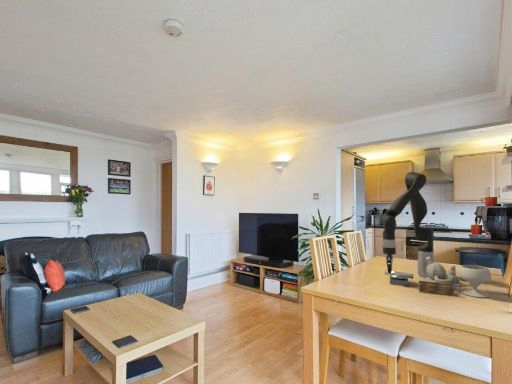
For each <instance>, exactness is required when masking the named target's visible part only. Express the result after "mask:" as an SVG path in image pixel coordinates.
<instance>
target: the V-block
mask: <svg viewBox="0 0 512 384" xmlns="http://www.w3.org/2000/svg"><path fill="white" fill-rule="evenodd" d="M389 285H393V286H394V285H396V286H401V285H402V286H403V287H409V278H408V277H405V276H396V275H389Z"/></svg>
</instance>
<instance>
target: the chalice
mask: <svg viewBox="0 0 512 384" xmlns="http://www.w3.org/2000/svg"><path fill="white" fill-rule="evenodd" d="M458 276H459V277H460V278H461V279H462V280H463V281H464V280H465V281H464V282H466V281H467V283H469V284H470V285H471V286H472V289H464V290H461V293H462V294H464V295H467V296H470V297H473V298H474V297H475V298H490V296H491V295H490V294H489V293H487V292H484V291H480V290H478V287H479V286H480V285H483V284H484V285H485V284H486V283H489V282H490V281H491V279H492V274H491V271H490V269H489V268H488V267H486V266H482V265H477V264H475V265H474V264H470V265H469V264H462V265H460V267H459V270H458Z"/></svg>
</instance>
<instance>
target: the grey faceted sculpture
mask: <svg viewBox="0 0 512 384" xmlns="http://www.w3.org/2000/svg"><path fill="white" fill-rule="evenodd" d="M426 259H427V261H428V262H429V265H428V266H427V268H426V272H427V275H428V277H423V278H424V279H422V281H428V282H438V283H447V284H452V286H453V287H454V288H459V289H460V288H461V287H464V284H463V282H461V279H460V278H461V277H460V278H459V277H458V276H459V275H456V272H457V271H456V265H451V266H450V268H449V269H450V270H447V269H445V267H444V266H443V265H442V264H440V263H437V262H435V261H434V262H433V261H432V259H431V257H427V258H426ZM446 270H447V271H446Z"/></svg>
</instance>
